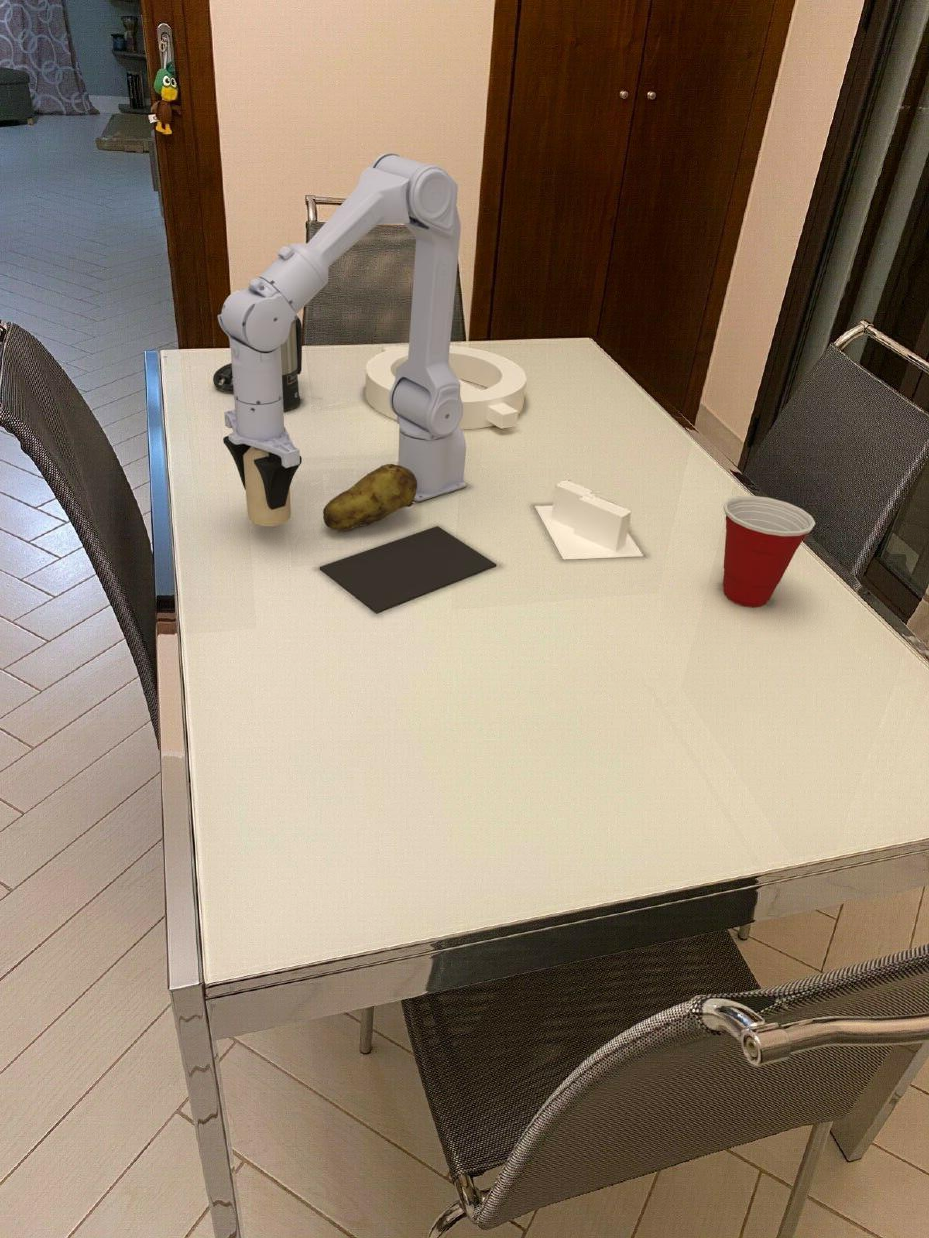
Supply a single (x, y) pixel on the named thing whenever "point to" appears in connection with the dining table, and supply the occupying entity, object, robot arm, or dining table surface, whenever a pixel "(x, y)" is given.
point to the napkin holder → (587, 524)
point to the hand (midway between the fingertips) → (264, 497)
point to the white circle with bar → (470, 365)
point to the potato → (371, 498)
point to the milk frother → (289, 365)
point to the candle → (261, 494)
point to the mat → (406, 568)
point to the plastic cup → (760, 546)
